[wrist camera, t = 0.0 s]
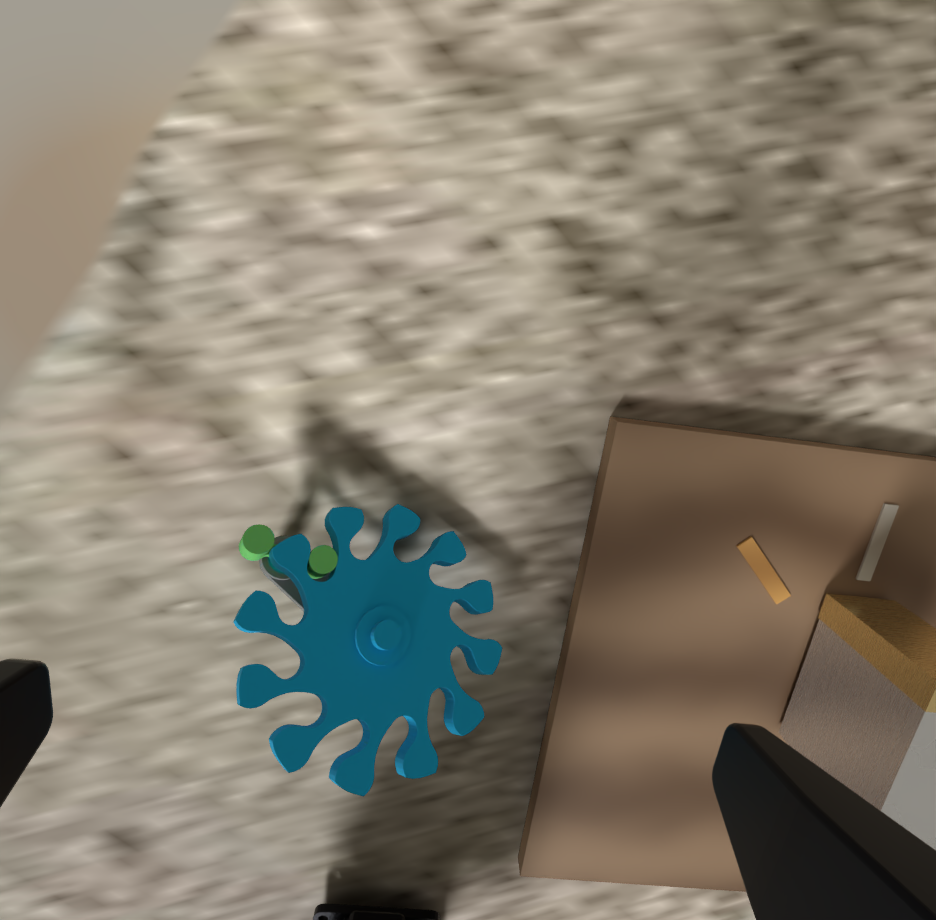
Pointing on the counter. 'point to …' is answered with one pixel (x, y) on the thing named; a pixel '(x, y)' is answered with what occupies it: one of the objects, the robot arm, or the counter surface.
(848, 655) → the white box tan top
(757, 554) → the base
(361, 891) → the counter surface
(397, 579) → the gear
